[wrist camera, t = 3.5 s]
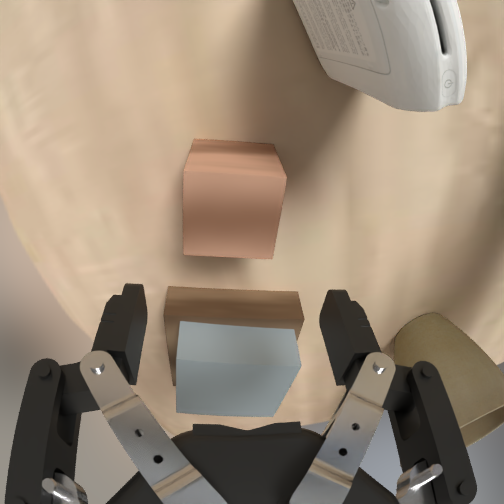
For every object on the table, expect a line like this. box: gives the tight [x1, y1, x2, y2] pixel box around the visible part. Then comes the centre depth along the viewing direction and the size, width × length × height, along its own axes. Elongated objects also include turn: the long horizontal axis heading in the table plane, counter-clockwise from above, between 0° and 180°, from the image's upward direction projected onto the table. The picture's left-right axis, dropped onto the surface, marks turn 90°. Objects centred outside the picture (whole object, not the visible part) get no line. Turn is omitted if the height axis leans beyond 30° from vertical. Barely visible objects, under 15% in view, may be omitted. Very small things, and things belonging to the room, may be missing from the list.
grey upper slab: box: [176, 321, 301, 417], centre depth 29 cm, size 10×10×4 cm
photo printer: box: [293, 0, 467, 112], centre depth 11 cm, size 10×4×12 cm, turn 23°
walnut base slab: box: [164, 286, 304, 386], centre depth 32 cm, size 12×12×4 cm
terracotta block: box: [183, 139, 287, 259], centre depth 21 cm, size 6×6×6 cm
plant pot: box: [394, 313, 504, 466], centre depth 30 cm, size 15×15×16 cm
